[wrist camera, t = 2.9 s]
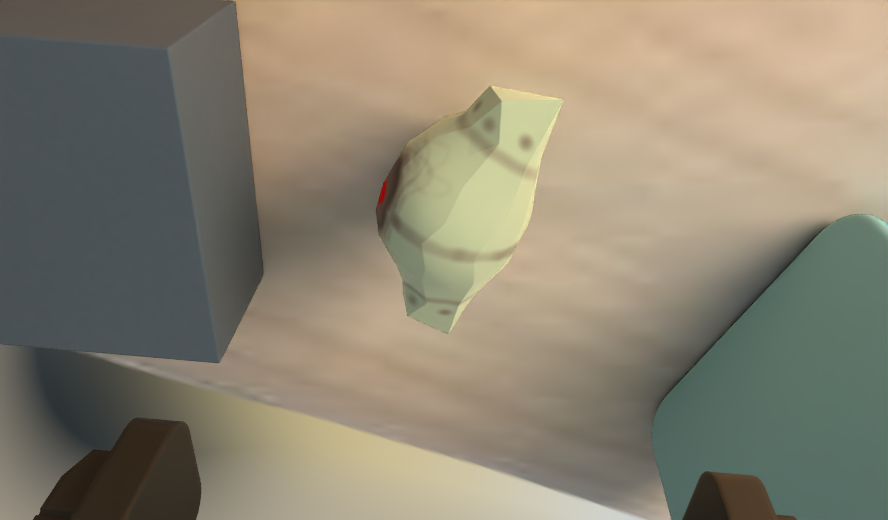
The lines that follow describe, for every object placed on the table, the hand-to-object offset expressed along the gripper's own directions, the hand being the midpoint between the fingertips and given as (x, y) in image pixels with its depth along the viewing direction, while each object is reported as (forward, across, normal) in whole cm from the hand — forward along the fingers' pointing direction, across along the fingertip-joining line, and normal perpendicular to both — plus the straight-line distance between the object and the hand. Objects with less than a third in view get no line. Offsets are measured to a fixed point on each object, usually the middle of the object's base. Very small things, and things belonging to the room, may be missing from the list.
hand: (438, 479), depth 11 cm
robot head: (+14, 0, 0) cm, 14 cm away
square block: (+14, +12, +1) cm, 18 cm away
